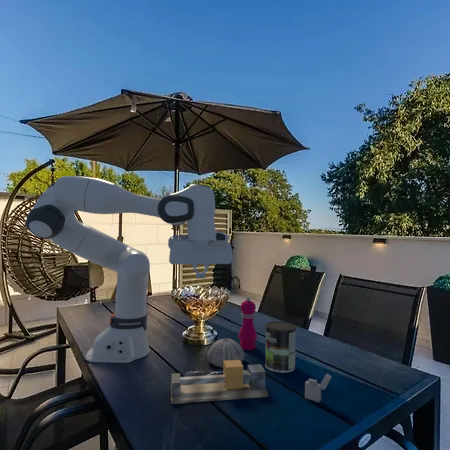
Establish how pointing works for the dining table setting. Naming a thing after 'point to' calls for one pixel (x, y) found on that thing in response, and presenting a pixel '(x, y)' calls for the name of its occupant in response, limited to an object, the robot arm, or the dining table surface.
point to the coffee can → (280, 346)
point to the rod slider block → (217, 387)
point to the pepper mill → (248, 326)
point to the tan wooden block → (233, 374)
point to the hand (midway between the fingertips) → (200, 278)
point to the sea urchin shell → (224, 352)
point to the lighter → (315, 388)
